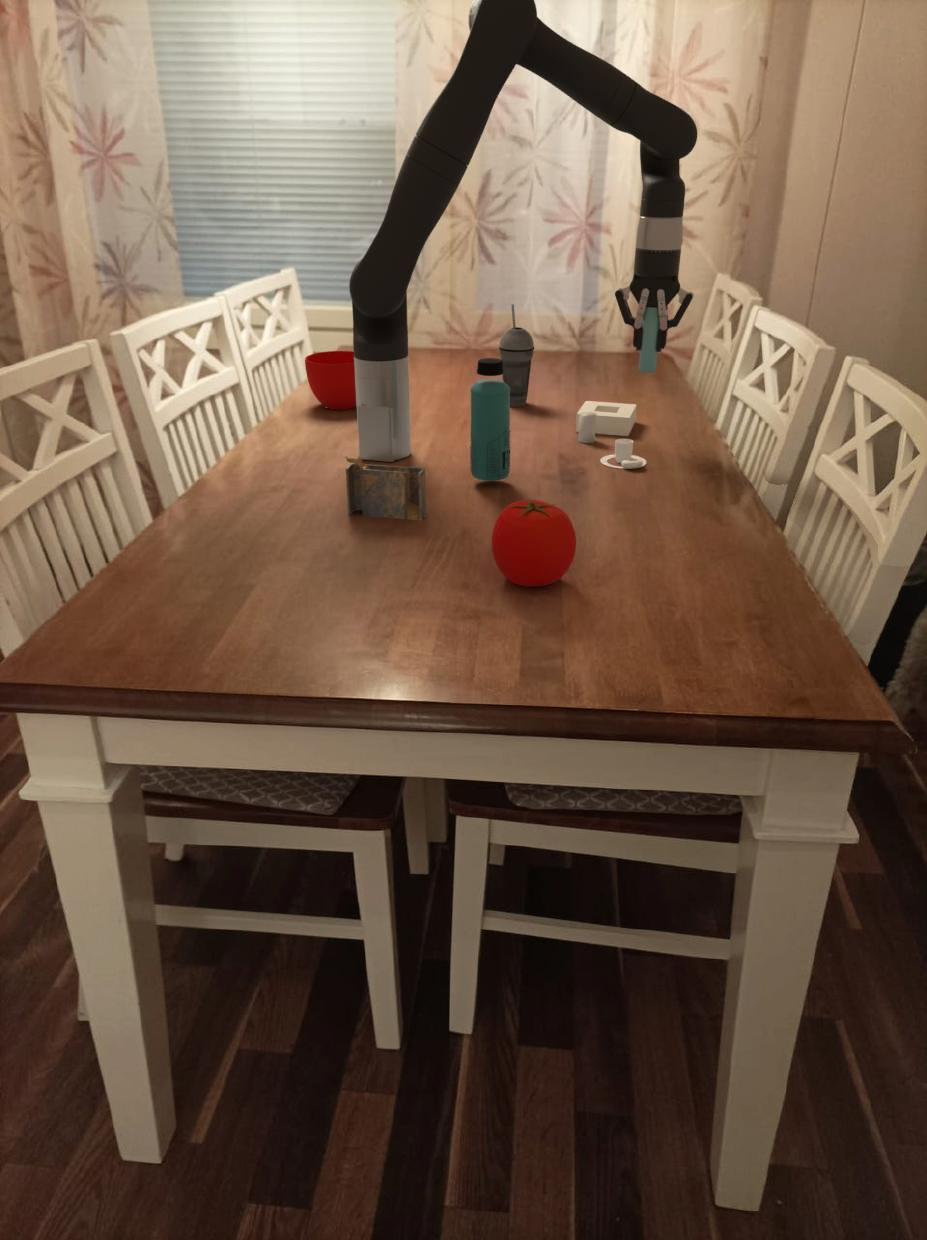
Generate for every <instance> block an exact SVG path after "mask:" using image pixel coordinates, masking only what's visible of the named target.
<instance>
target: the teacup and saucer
mask: <svg viewBox="0 0 927 1240" xmlns="http://www.w3.org/2000/svg"><path fill="white" fill-rule="evenodd" d="M633 448H634V440H633V439H629V438H617V439H615V441H614V454H609V455H608V454H607V455H604V456H603V457H601V458H600V463H601V464H602V465H604V466H606V467H609V468H613V469H620V470H632V469H634V470H635V469H639V468H642V467H644V466H646V465H647V460H646V459H644V458H643V457H641V456H638V455H635V454H633V450H634V449H633ZM612 458H615V462H616V463H617V464H620V465H621V466H617V465H613V464H612V463H609V462H608V460H609V459H612Z"/></svg>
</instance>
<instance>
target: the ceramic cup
mask: <svg viewBox="0 0 927 1240" xmlns="http://www.w3.org/2000/svg"><path fill="white" fill-rule="evenodd" d="M304 366H305V373H306V378H307V382H308V385H309V388H310V390H311V392H312V394H313V395H314V397H315V398H316V399H317V400H318V402H319V403H320V404H321V405H322V406H323V407H324V406H325V407H327V408H330V409H329V410H333V409H337V410H338V409H339V410H338V411H340V410H341V409H343V410H349V409H352V408H355V407H357V405H356V386H355V366H354V350H352V351H351V350H330V351H329V350H328V351H321V352H315V353H312V354H309V355H307V356H305V358H304ZM325 407H324V408H325ZM327 408H326V409H327ZM337 410H336V411H337Z"/></svg>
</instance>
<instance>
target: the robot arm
mask: <svg viewBox="0 0 927 1240" xmlns="http://www.w3.org/2000/svg"><path fill="white" fill-rule="evenodd" d="M468 28H469V33H468V34H469V35H468V36H467V37H468V38H467V39H466V43H465V45H464V47H463V50H462V52H461V56H460V58H459V61H458V63H457V65H456V67H455V69H454V71H453V73H452V74H451V76H450V78H449V80H448V81H447V83H446V84H445V86H444V87H443V88H442V90H441V92H440V93H439V95H438V96H437V98H436V99H435V100H434V102H433V103H432V105H431V106H430V108H429V110H428V111H427V113H426V114H425V116H424V118H423V120H422V122H421V123H420V125H419V127H418V129H417V131H416V133H415V135H414V137H413V138H412V141H411V142H410V143H411V144H410V146H409V148H408V150H407V152H406V154H405V157H404V160H403V161H402V164H401V166H400V169H399V173H398V175H397V177H396V181H395V183H394V186H393V189H392V193H391V196H390V199H389V203H388V205H387V208H386V209H387V210H386V212H385V215H384V218H383V221H382V223H381V224H380V226H379V229H378V231H377V232H376V234H375V236H374V238H373V240H372V242H371V244H370V245H369V247H368V248H367V251H366V252H365V254H364V256H363V257H362V258H361V259H360V260H359V261H358V262H357V263H356V265H355V266H354V267H353V270H352V273H351V275H350V278H349V294H350V298H351V307H352V308H351V309H352V325H353V326H352V335H353V336H352V344H353V346H352V347H353V348H352V349H353V352H354V366H355V386H356V418H357V435H358V436H357V438H358V439H357V440H358V453H359V457H360V458H362V460H364V461H365V460H366V461H376V462H387V463H393V462H395V461H397V460H402V459H404V458H407V457H409V456H410V455H411V454H412V445H411V444H412V443H411V442H412V441H411V440H412V439H411V406H410V377H409V374H410V371H409V368H410V367H409V330H408V329H409V328H408V327H409V325H408V294H407V292H408V288H409V284H410V282H411V279H412V277H413V273H414V271H415V269H416V265H417V262H418V260H419V258H420V256H421V253H422V251H423V249H424V247H425V244H426V243H427V241H428V239H429V237H430V236H431V234H432V232H433V231H434V229H435V228H436V226H437V224H438V223H439V221H440V220H441V218H442V217H443V214H444V213H445V211H446V210H447V208H448V206H449V205H450V202H451V201H452V198H453V197H454V195H455V193H456V192H457V190H458V188H459V185H460V184H461V182H462V180H463V177H464V175H465V173H466V172H467V169H468V166H470V163H471V161H472V159H473V156H474V154H475V152H476V149H477V147H478V145H479V142H480V140H481V138H482V136H483V134H484V133H483V132H484V130H485V128H486V126H487V123H488V121H489V119H490V115H491V113H492V110H493V108H494V105H495V103H496V100H497V98H498V97H499V95H500V93H501V91H502V89H503V88H504V86H505V84H506V83H507V81H508V79H509V77H510V76H511V74H512V72H513V70H514V69H515V67H516V65H518V66H519V67H522V68H524V69H525V70H528V71H529V72H531V73H533V74H535V75H536V76H538V77H539V78H541V79H543V80H545V81H547V82H548V83H549V84H551V85H552V86H553V87H555V88H557V89H558V90H559V91H561V92H562V93H563V94H565V95H566V96H568V97H569V98H570V99H572V100H573V101H574V102H576V103H577V104H578V105H580V106H581V107H583V108H584V109H586V111H588V112H590V113H591V114H592V115H593V116H596V118H599V120H601V121H602V122H604V123H605V124H608V125H609V126H610V127H611V128H613V129H615V130H617V131H620V132H622V133H626V134H629V135H631V136H633V137H634V138H635V139H637V140H639V158H640V159H639V160H640V161H639V162H640V175H641V176H640V177H641V181H642V188H641V189H642V191H641V200H640V212H639V215H640V216H639V219H638V224H637V225H638V226H637V231H636V238H635V239H636V242H635V250H634V251H635V252H634V253H635V254H634V263H633V276H632V280H631V281H630V283H629V285H628V286H625V287H624V288H618V289H617V290H616V291H615V292H614V297H615V300H616V302H617V305H618V307H619V311H620V314H621V317H622V320H623V322H624V324H625V325H629V326H631V327H632V328H633V337H632V339H633V340H632V346H633V348H635V351H638V352H640V349H641V338H642V324H643V317H644V313H645V309H646V307H651V308H658V309H659V318H660V330H659V331H658V341H657V353H661V352H662V350H665V348H666V346H667V338H668V332H669V331H668V330H669V329H671V328H676V327H678V325H679V324H680V322H681V320H682V318H683V316H684V314H685V313H686V311H687V310H688V307H689V305H690V303H691V302H692V300H693V298H694V296H695V295H694V293H693V292H692V291H687V290H685V289H684V288H681V284H680V281H679V280H680V279H679V274H680V263H681V253H682V245H683V241H684V240H683V237H684V236H683V235H684V224H683V223H684V222H683V220H684V218H683V216H684V210H685V199H686V198H685V197H686V185H685V184H686V183H685V181H684V180H683V178H682V177H681V174H680V161H681V160H680V159H684V158H686V157H687V156H689V154H691V152H692V151H693V149H694V148H695V147H696V144H697V142H698V129H697V125H696V122H695V121H694V119H693V117H692V116H691V115H690V114H689V113H688V112H686V110H684V109H682V108H681V107H679V106H677V105H676V104H674V103H672V102H670V101H668V100H666V99H665V98H663V97H661V96H659V95H657V94H655V93H652V92H650V91H649V90H648V89H646V88H645V87H643V86H642V85H641V84H640V83H638V82H637V81H636V80H634V79H633V78H631V77H630V76H629V75H627V74H626V73H624V72H623V71H621V69H619V68H617V67H616V66H614V65H613V64H611V63H609V62H608V61H606V60H604V59H603V58H600V57H599V56H597V55H595V54H593V53H591V52H590V51H587V50H586V49H584V48H582V47H580V46H578V45H576V44H574V43H573V42H571V41H569V40H567V39H566V38H564V37H563V36H561V35H560V34H559V33H557V32H556V31H554V30H553V29H552V28H550V27H549V26H548V25H547V24H545V22H543V20H541V19H540V18H539V17H538V11H537V5H536V2H535V0H473V1H472V3H471V5H470V8H469V13H468ZM630 294H632V296H633V297H634V299H635V301H636V302H637V304H638V305H637V306H638V307H637V310H636V317H634V316H633V313H632V312H631V308H630V304H629V303H628V301H629V299H630ZM677 295H678V303H679V304H680V305H679V308H678V309H677V311H676V313H675V315H674V316H673V318H671V319H670V318H669V305H670V303H671V302H672V301H673V300H674V298H675V297H676V296H677Z"/></svg>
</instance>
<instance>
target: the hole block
mask: <svg viewBox="0 0 927 1240" xmlns="http://www.w3.org/2000/svg"><path fill="white" fill-rule="evenodd" d="M582 412H593V413H596V428H595V435H596V434H597V435H610V436H621V437H629V435H630V433H631V431H632V430H633V427H634V425H635V424H636V420H637V419H636V416H637V404H635V403H634V404H633V403H623V402H622V403H620V402H609V401H608V402H605V401H594V400H592V401H591V400H585V402H584V403H583V404H582V405H581V407H580V408H579V410H578V411H577V413H576V417H575V432H576V433H579V421H580V413H582Z"/></svg>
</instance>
